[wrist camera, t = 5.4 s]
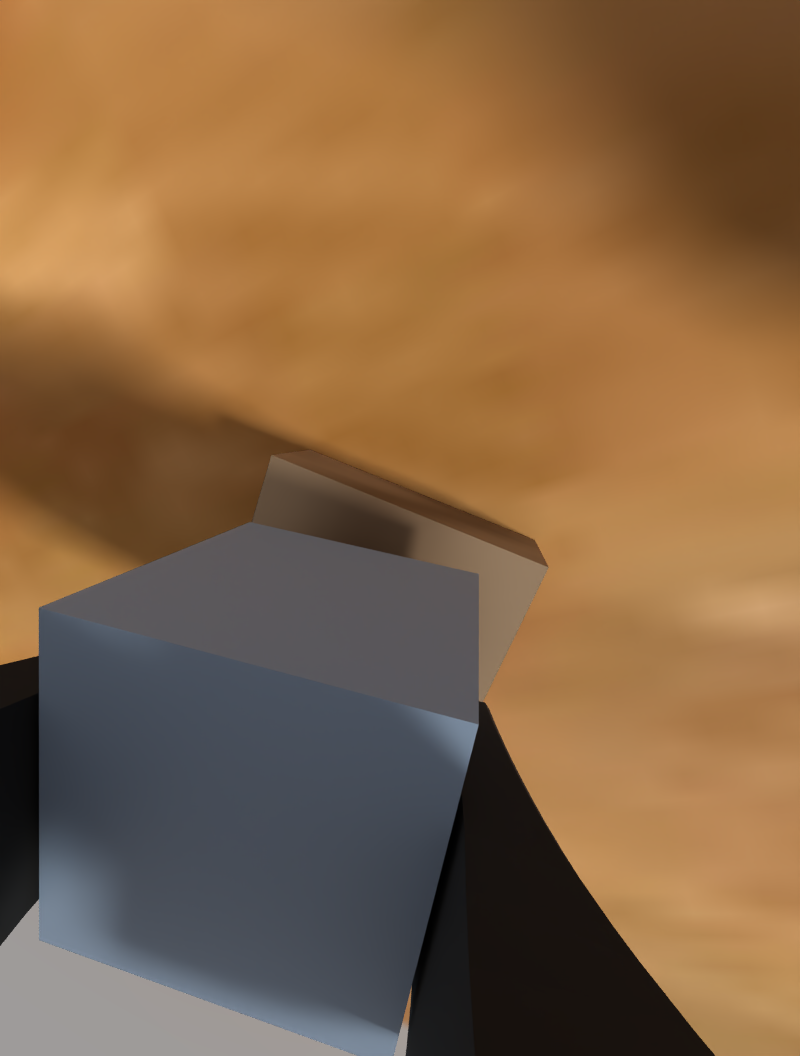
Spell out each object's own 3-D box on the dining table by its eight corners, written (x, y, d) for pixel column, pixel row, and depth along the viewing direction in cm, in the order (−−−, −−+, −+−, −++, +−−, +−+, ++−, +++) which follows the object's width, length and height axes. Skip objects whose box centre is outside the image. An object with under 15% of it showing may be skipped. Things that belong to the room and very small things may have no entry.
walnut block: (533, 537, 14) (548, 566, 11) (443, 728, 15) (435, 798, 12) (314, 449, 14) (271, 454, 11) (251, 644, 16) (201, 692, 13)
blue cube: (478, 573, 9) (479, 723, 5) (430, 777, 11) (390, 1067, 6) (250, 521, 10) (39, 607, 5) (227, 720, 11) (39, 939, 6)
